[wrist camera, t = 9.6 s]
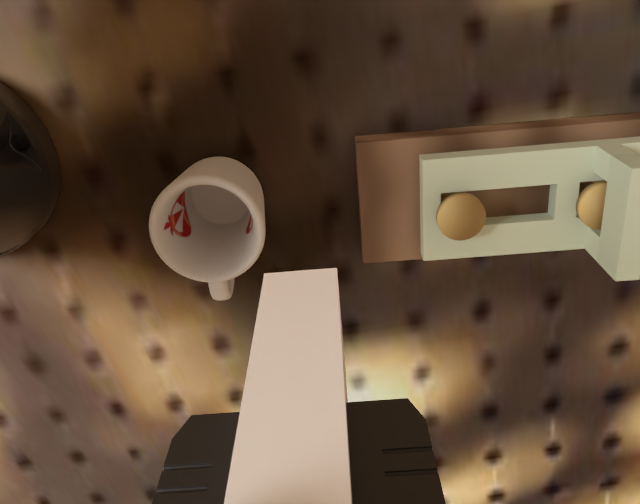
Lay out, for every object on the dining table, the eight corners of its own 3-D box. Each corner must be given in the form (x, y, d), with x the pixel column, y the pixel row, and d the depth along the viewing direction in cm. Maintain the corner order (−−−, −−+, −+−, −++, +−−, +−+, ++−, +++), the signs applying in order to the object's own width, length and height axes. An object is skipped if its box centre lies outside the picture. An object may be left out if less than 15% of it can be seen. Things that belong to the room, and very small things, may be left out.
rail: (361, 252, 50) (367, 287, 45) (354, 136, 46) (359, 158, 40) (676, 228, 49) (720, 260, 44) (699, 107, 45) (751, 126, 39)
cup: (279, 265, 51) (272, 315, 43) (185, 269, 51) (164, 320, 44) (268, 141, 46) (259, 174, 39) (166, 146, 46) (137, 179, 39)
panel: (420, 253, 47) (435, 294, 41) (419, 154, 43) (435, 184, 38) (692, 232, 46) (747, 271, 40) (712, 130, 43) (776, 156, 37)
